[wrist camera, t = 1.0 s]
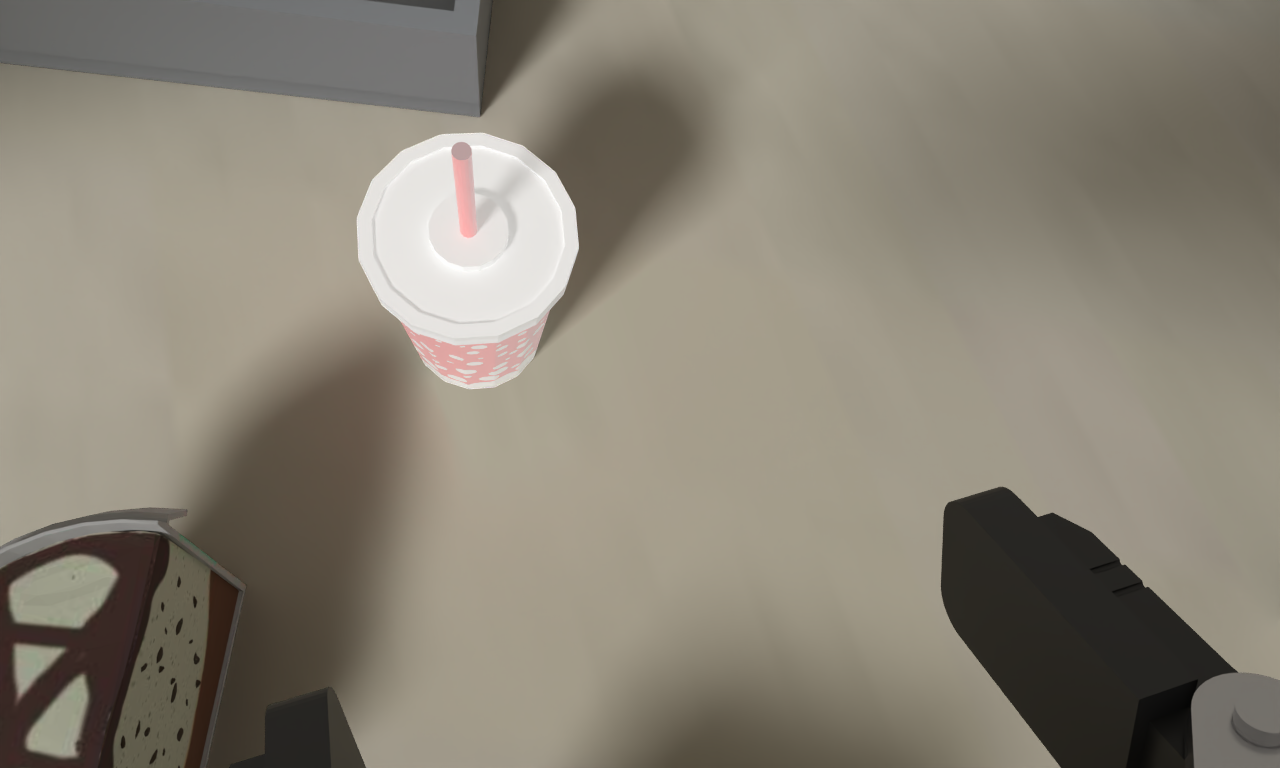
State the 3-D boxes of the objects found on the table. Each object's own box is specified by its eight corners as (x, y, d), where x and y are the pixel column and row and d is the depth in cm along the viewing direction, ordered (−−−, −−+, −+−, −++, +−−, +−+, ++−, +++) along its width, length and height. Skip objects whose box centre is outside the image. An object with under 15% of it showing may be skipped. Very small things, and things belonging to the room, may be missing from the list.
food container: (66, 513, 35) (-102, 461, 25) (256, 539, 36) (163, 498, 26) (-44, 922, 32) (-283, 1040, 22) (167, 944, 32) (24, 1070, 23)
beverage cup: (446, 217, 39) (414, -11, 26) (593, 297, 39) (639, 111, 25) (356, 357, 37) (271, 193, 24) (510, 441, 37) (511, 324, 24)
